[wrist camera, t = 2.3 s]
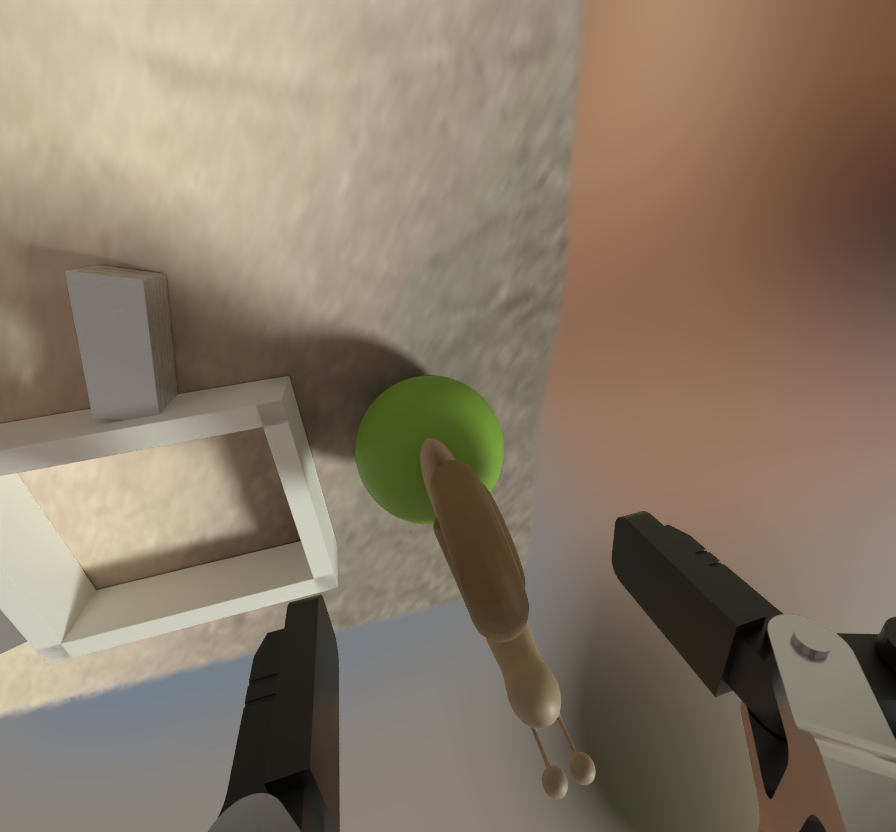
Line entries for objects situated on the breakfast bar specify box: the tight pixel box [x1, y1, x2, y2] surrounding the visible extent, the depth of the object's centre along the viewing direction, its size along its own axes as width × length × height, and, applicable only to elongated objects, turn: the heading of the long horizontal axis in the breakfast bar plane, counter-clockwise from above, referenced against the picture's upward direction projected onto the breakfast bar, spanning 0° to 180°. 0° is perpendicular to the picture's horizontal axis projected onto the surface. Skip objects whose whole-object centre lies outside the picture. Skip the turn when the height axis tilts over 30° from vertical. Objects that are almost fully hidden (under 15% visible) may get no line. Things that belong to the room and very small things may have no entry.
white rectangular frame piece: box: [0, 265, 338, 664], centre depth 14 cm, size 13×15×2 cm
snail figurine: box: [355, 375, 595, 799], centre depth 12 cm, size 5×6×12 cm
